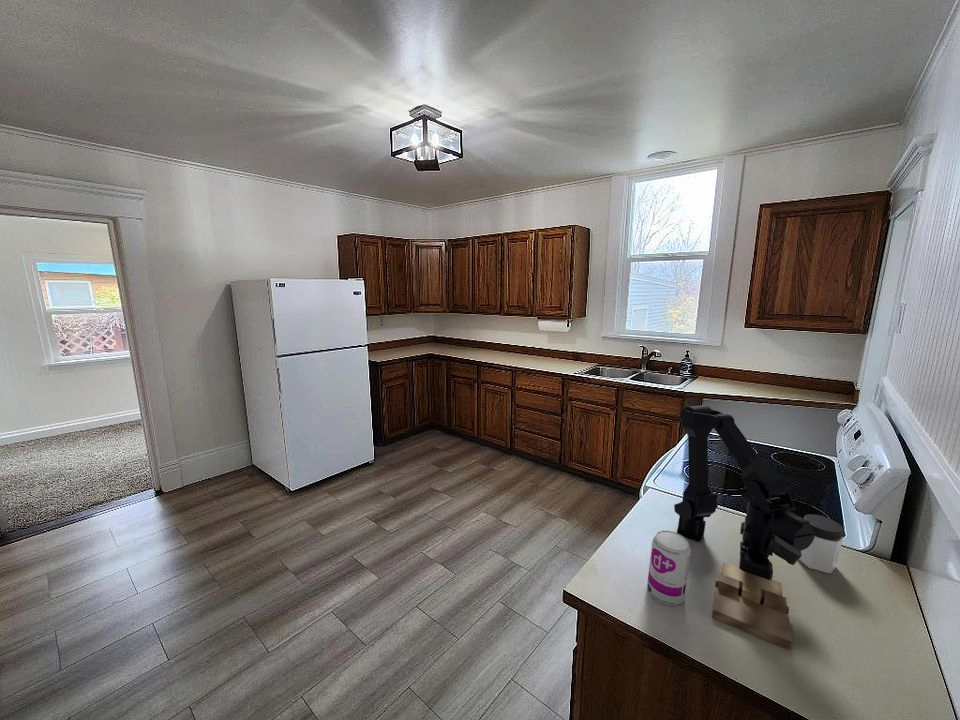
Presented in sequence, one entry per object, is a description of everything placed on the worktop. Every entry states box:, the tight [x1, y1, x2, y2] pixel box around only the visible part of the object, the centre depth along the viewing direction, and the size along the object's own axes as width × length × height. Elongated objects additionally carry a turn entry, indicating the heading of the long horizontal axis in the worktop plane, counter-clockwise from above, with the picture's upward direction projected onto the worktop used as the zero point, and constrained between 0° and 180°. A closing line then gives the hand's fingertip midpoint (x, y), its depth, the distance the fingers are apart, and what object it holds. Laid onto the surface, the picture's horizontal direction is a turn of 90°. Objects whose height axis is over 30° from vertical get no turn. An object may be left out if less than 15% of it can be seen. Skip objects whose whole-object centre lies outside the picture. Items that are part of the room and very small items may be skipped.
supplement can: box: [646, 530, 692, 607], centre depth 93 cm, size 8×8×15 cm
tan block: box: [720, 562, 784, 605], centre depth 94 cm, size 12×8×4 cm, turn 56°
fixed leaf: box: [711, 573, 792, 650], centre depth 89 cm, size 14×11×4 cm
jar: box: [798, 513, 845, 574], centre depth 105 cm, size 9×8×12 cm
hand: (750, 577), depth 98 cm, fingers closed
